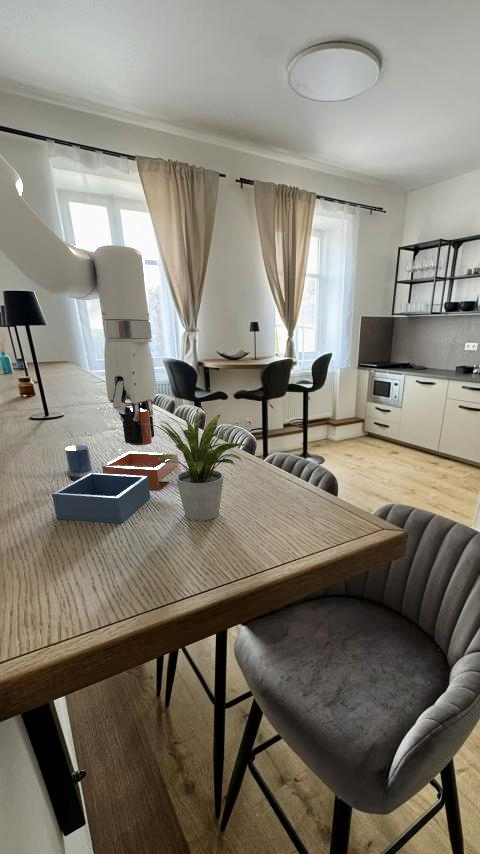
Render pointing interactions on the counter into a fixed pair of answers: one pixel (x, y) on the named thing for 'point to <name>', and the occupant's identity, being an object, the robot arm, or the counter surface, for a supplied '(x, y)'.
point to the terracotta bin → (153, 474)
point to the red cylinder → (145, 426)
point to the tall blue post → (78, 460)
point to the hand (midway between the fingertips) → (140, 439)
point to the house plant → (200, 469)
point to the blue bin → (101, 498)
